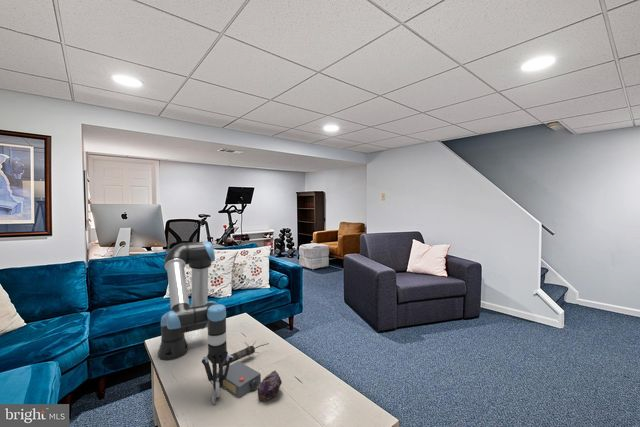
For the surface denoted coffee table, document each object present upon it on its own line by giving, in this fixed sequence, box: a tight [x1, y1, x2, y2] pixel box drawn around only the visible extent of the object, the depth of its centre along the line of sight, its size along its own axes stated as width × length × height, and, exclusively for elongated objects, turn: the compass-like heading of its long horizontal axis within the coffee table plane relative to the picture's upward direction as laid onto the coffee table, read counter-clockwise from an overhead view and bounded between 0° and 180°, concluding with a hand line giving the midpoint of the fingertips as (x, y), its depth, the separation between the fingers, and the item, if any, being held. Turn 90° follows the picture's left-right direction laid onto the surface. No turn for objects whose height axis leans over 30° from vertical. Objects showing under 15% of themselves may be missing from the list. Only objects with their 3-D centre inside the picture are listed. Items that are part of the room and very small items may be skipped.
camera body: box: [217, 360, 262, 399], centre depth 130 cm, size 19×12×6 cm, turn 53°
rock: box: [256, 370, 283, 402], centre depth 123 cm, size 12×9×10 cm
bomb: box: [223, 341, 270, 368], centre depth 149 cm, size 11×10×30 cm
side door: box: [211, 376, 218, 405], centre depth 124 cm, size 15×2×5 cm, turn 18°
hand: (218, 394), depth 121 cm, fingers closed
